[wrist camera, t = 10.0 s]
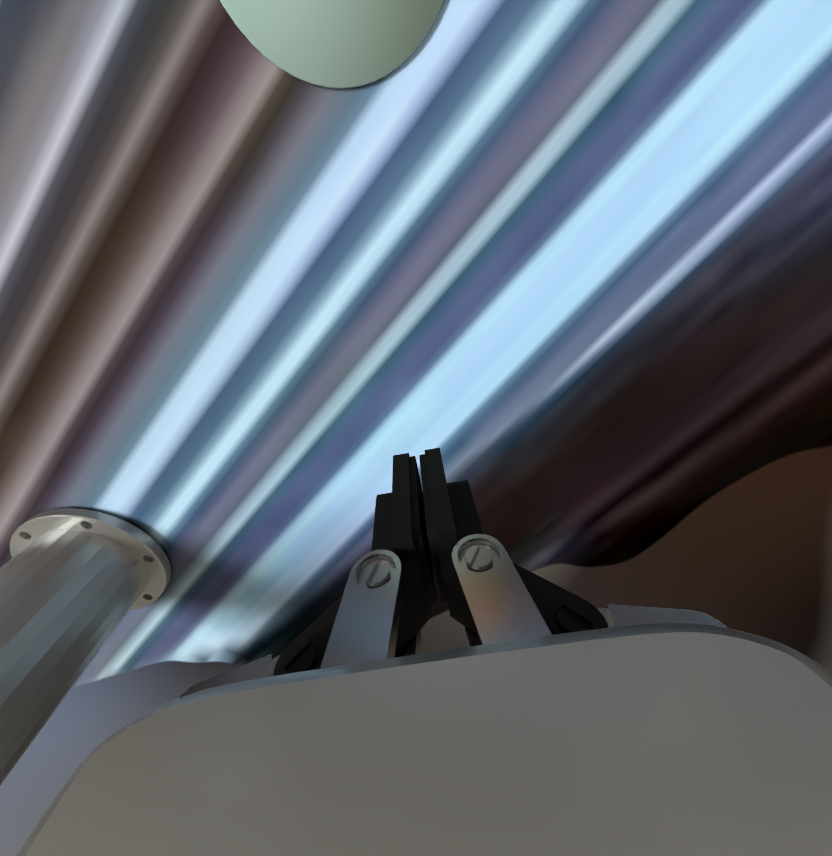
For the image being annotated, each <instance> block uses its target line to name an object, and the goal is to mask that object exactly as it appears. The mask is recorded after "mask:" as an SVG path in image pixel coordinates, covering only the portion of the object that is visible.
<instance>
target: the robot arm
mask: <svg viewBox="0 0 832 856" xmlns="http://www.w3.org/2000/svg"><path fill="white" fill-rule="evenodd" d="M420 466H421V477H422V486H421V482H420V477H419V472H418V468H417V463H416V458H415V456H412V457H409V453H406V454H400V455H395V456H393V484H392V493H386V494H381V495H377V498H376V508H375V519H374V530H373V541H372V551H371V552H369V553H366V554H365V555H363V556H362V557H360V558H359V559H358V560H357V561H356V563H355V564H354V565H353V567H352V569H351V571H350V574H349V578H348V581H347V584H346V587H345V590H344V594H342V595H341V596H340V597H339V598H338V599H337V600H336V601H335V602H334V603H333V604H332V605H331V606H330V607H329V608H328V609H326V610H325V611H324V612H323V613H322V614H321V615H320V616H319V617H318V618H317V619H316V620H315V621H314V622H313V623H311V624H310V625H309V626H308V627H307V628H306V629H305V630H304V631H303V632H302V633H301V634H300V635H299V636H298V637H297V638H295V639H294V640H293V641H292V642H291V643H290V644H289V645H288V646H287V647H286V649H285V650H284V651H283V652H282V653H281V655H280V656H278V657H275V658H274V657H273V656H272V654H271V655H269V656H266V657H264V658H261V659H258V660H256V661H253V662H251V663H248V664H245V665H243V666H240V667H238V668H235V669H232V670H230V671H228V672H225V673H222V674H220V675H217V676H214V677H212V678H209V679H207V680H204V681H201V682H200V683H198V684H196V685H194V686H192V687H190V688H189V689H188V690H187V691H186V692H185V693H183V694H182V695H181V696H180V697H179V698H178V699H176V700H174V701H171V702H169V703H167V704H164V705H162V706H159V707H157V708H155V709H154V710H152V711H150V712H148V713H146V714H145V715H142V716H141V717H139V718H137V719H135V720H134V721H132V722H131V723H129V724H127V725H126V726H124V727H122V728H121V729H119V730H118V731H117V732H115V733H114V734H112V735H111V736H110V737H108V738H107V739H106V740H104V741H103V742H102V743H101V744H100V745H99V746H98V747H97V748H96V749H94V750H93V751H92V753H90V755H89V756H88V757H87V758H86V759H85V760H84V761H83V762H82V763H81V764H80V766H79V767H78V768H77V770H76V771H75V772H74V773H73V774H72V776H71V777H70V778H69V780H68V781H67V782H66V784H65V785H64V786H63V788H62V789H61V790H60V792H59V793H58V794H57V796H56V797H55V799H54V801H53V802H52V803H51V805H50V806H49V808H48V809H47V811H46V812H45V813H44V815H43V816H42V818H41V819H40V821H39V822H38V824H37V825H36V826H35V828H34V829H33V831H32V832H31V834H30V836H29V837H28V839H27V840H26V842H25V843H24V845H23V846H22V848H21V849H20V851H19V852H18V854H17V856H832V674H831V673H830V672H829V671H827V670H826V669H824V668H823V667H821V666H820V665H819V664H817V663H816V662H814V661H813V660H811V659H810V658H808V657H806V656H805V655H803V654H801V653H800V652H798V651H796V650H794V649H792V648H790V647H788V646H785V645H783V644H781V643H778V642H776V641H773V640H770V639H767V638H764V637H761V636H757V635H754V634H750V633H747V632H742V631H738V630H733V629H729V628H728V627H726V626H725V625H724V624H722V623H721V622H720V621H719V620H717V619H716V618H713V617H711V616H709V615H707V614H705V613H702V612H698V611H693V610H682V609H668V608H667V609H666V608H653V607H639V606H624V605H609V604H608V606H607V609H606V608H596V607H595V606H594V605H592V604H591V603H589V602H588V601H586V600H584V599H582V598H580V597H579V596H577V595H575V594H573V593H571V592H569V591H567V590H565V589H562V588H561V587H559V586H557V585H555V584H553V583H551V582H549V581H547V580H545V579H543V578H541V577H539V576H537V575H536V574H534V573H532V572H530V571H528V570H526V569H524V568H522V567H520V566H518V565H516V564H514V563H512V561H511V559H510V558H509V556H508V554H507V552H506V550H505V549H504V547H503V546H502V544H501V543H500V542H499V541H498V540H496V539H495V538H493V537H491V536H488V535H484V534H483V531H482V528H481V524H480V521H479V517H478V514H477V510H476V507H475V504H474V500H473V497H472V493H471V490H470V486H469V483H468V480H464V481H458V482H452V483H446V478H445V473H444V468H443V463H442V458H441V453H440V448H435V449H429V450H425V454H424V455H420ZM422 487H423V491H422ZM10 553H11V556H12V559H11V560H10V561H9V562H7V563H6V564H5V565H4V566H2V567H1V568H0V785H1V783H2V782H3V781H4V780H5V778H6V777H7V775H8V774H9V773H10V771H11V770H12V769H13V767H14V766H15V765H16V763H17V762H18V761H19V759H20V758H21V756H22V755H23V754H24V752H25V751H26V749H27V748H28V747H29V746H30V744H31V743H32V742H33V740H34V739H35V737H36V736H37V735H38V733H39V732H40V731H41V729H42V728H43V727H44V725H45V724H46V722H47V721H48V720H49V718H50V717H51V716H52V714H53V713H54V712H55V710H56V709H57V708H58V706H59V705H60V703H61V702H62V701H63V699H64V698H65V697H66V695H67V694H68V693H69V691H70V690H71V688H72V687H73V686H74V684H75V683H76V682H77V680H78V679H79V678H80V676H81V675H82V673H83V672H84V671H85V669H86V668H87V667H88V665H89V664H90V663H91V661H92V660H93V659H94V657H95V656H96V654H97V653H98V652H99V650H100V649H101V648H102V646H103V645H104V644H105V642H106V641H107V639H108V638H109V637H110V635H111V634H112V633H113V631H114V630H115V629H116V627H117V626H118V624H119V623H120V622H121V620H122V619H123V618H124V616H125V615H126V614H127V612H128V611H130V610H134V609H138V608H142V607H144V606H147V605H149V604H151V603H152V602H154V601H155V600H157V599H158V598H159V597H160V595H161V594H162V593H163V592H164V590H165V588H166V587H167V585H168V583H169V582H170V577H171V566H170V563H169V560H168V558H167V556H166V554H165V553H164V551H163V550H162V548H161V547H160V546H159V545H158V544H157V543H156V542H155V541H154V540H153V539H152V538H151V537H150V536H149V535H147V534H146V533H145V532H143V531H142V530H141V529H139V528H137V527H135V526H134V525H132V524H130V523H129V522H126V521H124V520H122V519H119V518H117V517H115V516H111V515H108V514H105V513H101V512H97V511H92V510H86V509H74V508H63V509H53V510H49V511H45V512H41V513H39V514H37V515H35V516H33V517H31V518H30V519H29V520H27V521H26V522H25V523H24V524H22V525H21V526H20V527H18V528H17V530H16V531H15V532H14V534H13V535H12V538H11V541H10ZM432 559H433V560H432ZM433 564H434V568H435V573H436V577H437V582H438V586H439V591H440V596H441V600H442V604H448V606H449V611H450V616H451V617H453V618H454V619H455V620H457V621H458V622H460V623H461V624H463V625H464V626H465V632H466V635H467V638H468V641H469V644H470V647H464V648H457V649H451V650H443V651H436V652H429V653H423V654H420V645H421V632H420V629H421V628H422V627H423V626H424V625H425V623H426V622H427V621H428V620H429V618H432V614H431V606H435V605H437V598H436V588H435V579H434V569H433Z"/></svg>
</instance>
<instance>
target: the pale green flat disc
mask: <svg viewBox="0 0 832 856" xmlns="http://www.w3.org/2000/svg"><path fill="white" fill-rule="evenodd" d="M220 1H221V3H222V5H223V7H224V8H225V9H226V11H227V12H228V14H229V15H230V17H231V18H232V20H233V21H234V23H235V24H236V25H237V27H238V28H239V29H240V30H241V32H242V33H243V34H244V35H245V36H246V38H247V39H248V40H249V41H250V42H251V44H252V45H253V46H254V47H256V48H257V49H258V50H259V51H260V52H261V53H262V54H263V55H264V56H265V57H266V58H267V59H268V60H270V61H271V62H272V63H274V64H275V65H276V66H278V67H279V68H280V69H282V70H283V71H285V72H287V73H288V74H290V75H292V76H294V77H295V78H297V79H300V80H302V81H305V82H307V83H310V84H312V85H317V86H321V87H326V88H336V89H347V88H354V87H360V86H364V85H367V84H370V83H373V82H375V81H377V80H379V79H381V78H383V77H385V76H387V75H389V74H390V73H391V72H393V71H394V70H395V69H397V68H398V67H399V66H401V65H402V64H403V63H404V62H405V61H406V60H407V59H408V58H409V57H410V56H411V55H412V54H413V53H414V51H415V50H416V49H417V48H418V46H419V45H420V44H421V42H422V41H423V40H424V38H425V37H426V35H427V33H428V32H429V30H430V28H431V27H432V25H433V23H434V21H435V20H436V17H437V15H438V13H439V11H440V8H441V6H442V4H443V2H444V0H220Z"/></svg>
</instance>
